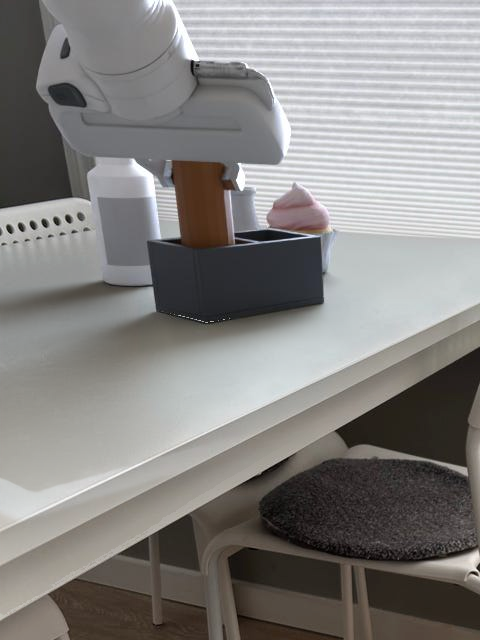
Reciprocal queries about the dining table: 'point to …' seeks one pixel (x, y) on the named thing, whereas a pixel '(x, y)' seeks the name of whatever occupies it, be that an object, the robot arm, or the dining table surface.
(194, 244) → the bottle
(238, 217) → the flask
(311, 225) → the cupcake
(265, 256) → the holder
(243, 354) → the dining table surface
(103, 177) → the spray bottle
